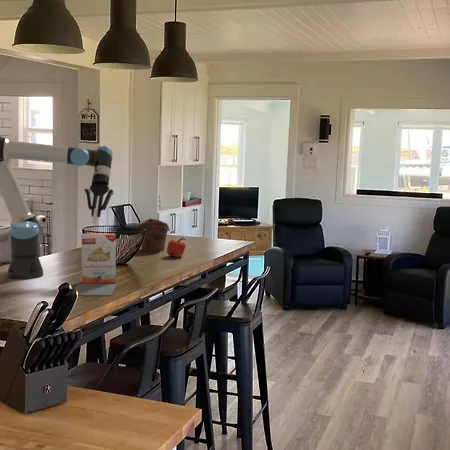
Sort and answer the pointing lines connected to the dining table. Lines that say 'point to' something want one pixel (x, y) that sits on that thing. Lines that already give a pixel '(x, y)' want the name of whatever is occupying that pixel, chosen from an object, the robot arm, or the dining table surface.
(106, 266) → the cracker box
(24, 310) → the dining table surface
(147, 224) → the brown lidded pot
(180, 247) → the vegetable
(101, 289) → the grey mat
